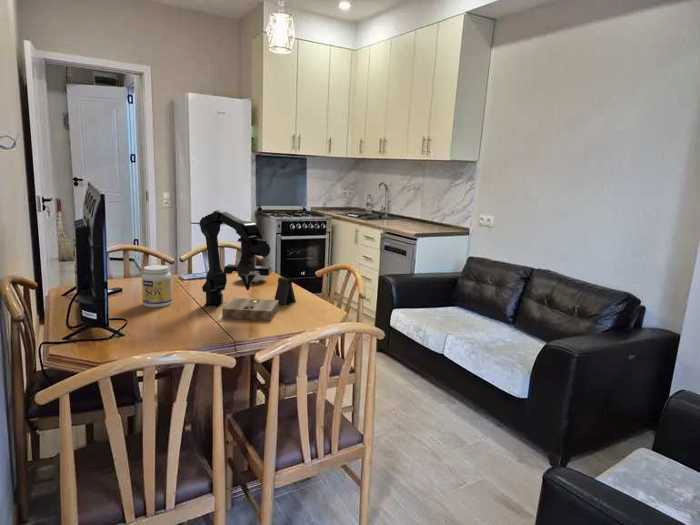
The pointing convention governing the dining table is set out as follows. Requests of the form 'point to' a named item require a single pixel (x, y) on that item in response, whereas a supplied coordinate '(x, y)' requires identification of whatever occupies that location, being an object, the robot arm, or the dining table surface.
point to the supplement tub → (156, 286)
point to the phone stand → (285, 292)
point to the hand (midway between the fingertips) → (247, 290)
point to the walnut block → (258, 311)
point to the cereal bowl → (257, 276)
